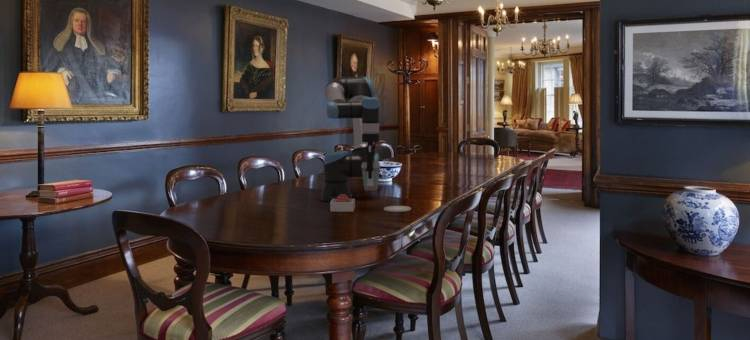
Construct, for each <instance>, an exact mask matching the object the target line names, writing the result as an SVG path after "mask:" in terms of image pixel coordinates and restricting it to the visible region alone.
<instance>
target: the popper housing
mask: <svg viewBox="0 0 750 340" xmlns="http://www.w3.org/2000/svg"><path fill="white" fill-rule="evenodd" d="M335 200H336V199H332V201H331V202H330V201H329V209H330V213H331V212H336V213H337V212H338V213H339V212H340V213H342V212H345V213H347V212H349V213H351V212H352V213H354V211H355V209H356V199H355V198H352V199H350V200H352V202H334V201H335Z"/></svg>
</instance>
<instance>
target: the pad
mask: <svg viewBox="0 0 750 340" xmlns="http://www.w3.org/2000/svg"><path fill="white" fill-rule="evenodd" d="M411 210H412V207H410V206H407V205H389V206H388V205H387V206H385V207H383V211H386V212H390V213H391V212H392V213H402V212H410V211H411Z"/></svg>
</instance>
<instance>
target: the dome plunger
mask: <svg viewBox="0 0 750 340" xmlns="http://www.w3.org/2000/svg"><path fill="white" fill-rule="evenodd" d="M334 202H352V200H350V198H348V196H346V194H340V196H338V198H336V200H335V201H334Z"/></svg>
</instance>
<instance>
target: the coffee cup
mask: <svg viewBox="0 0 750 340" xmlns="http://www.w3.org/2000/svg"><path fill="white" fill-rule="evenodd" d="M361 167H362V175H363V177H362V182H363V189H364V191H372V192H373V191H377V190H378V188H379V180H380V179H379V177H380V169H381V165H380V161H379V162H373V186H367V171H365V169H367V162H362V165H361Z"/></svg>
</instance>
